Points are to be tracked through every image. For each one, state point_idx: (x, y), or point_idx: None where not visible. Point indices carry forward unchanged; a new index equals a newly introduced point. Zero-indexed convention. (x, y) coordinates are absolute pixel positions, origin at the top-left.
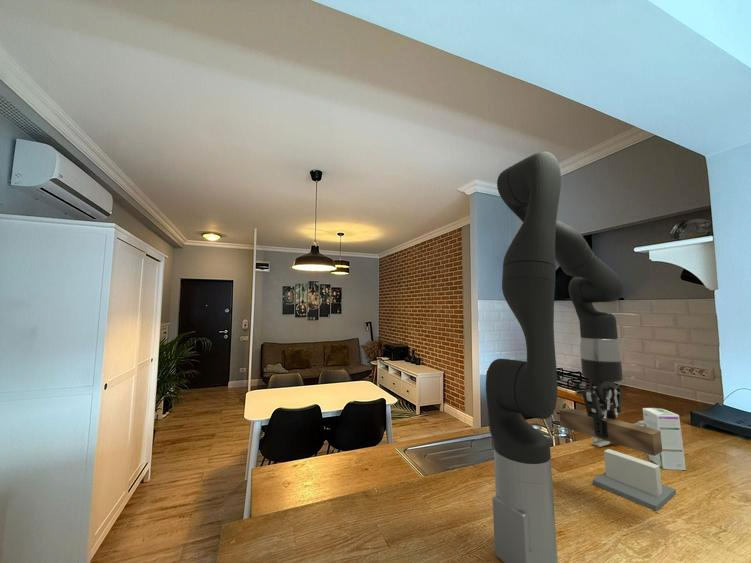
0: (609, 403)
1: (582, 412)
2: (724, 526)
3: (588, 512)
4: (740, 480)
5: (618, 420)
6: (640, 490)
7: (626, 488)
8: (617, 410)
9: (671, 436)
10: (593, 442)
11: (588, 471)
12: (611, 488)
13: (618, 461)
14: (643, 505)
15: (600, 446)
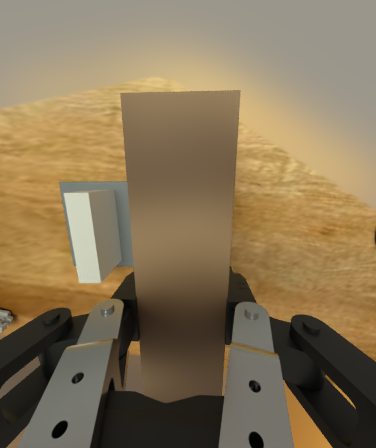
0: (231, 397)
1: (165, 401)
2: (102, 111)
3: (244, 233)
4: None
5: (138, 281)
6: (119, 212)
7: None
8: (68, 325)
9: None
10: (9, 323)
11: (120, 283)
12: None
13: (103, 253)
14: None
15: (8, 311)
